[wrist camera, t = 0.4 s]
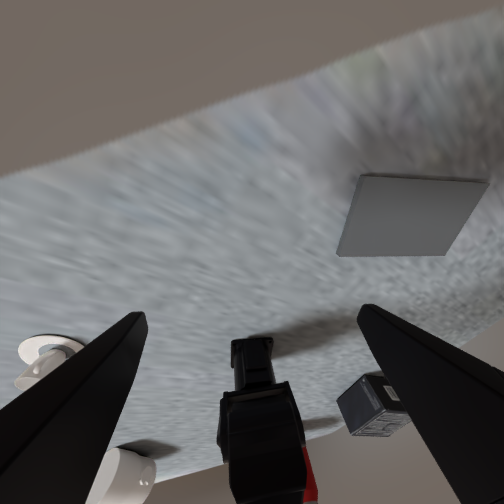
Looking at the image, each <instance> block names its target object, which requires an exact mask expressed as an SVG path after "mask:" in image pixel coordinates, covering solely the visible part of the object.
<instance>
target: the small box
mask: <svg viewBox="0 0 504 504" xmlns="http://www.w3.org/2000/svg"><path fill="white" fill-rule="evenodd" d="M336 401H337V404H338V406H339V408H340V411H341V413H342V416H343V418H344V420H345V423H346V425H347V427H348V429H349V432H350V434H351V435H352V436H353V435H354V436H380V437H388V436H390V435H391V434H392V433H394V432H395V431H396V430H398V429H399V428H401V427H403V426H404V425H406V424H408V423H409V422H411V421H412V420H411V419H410V417H409V415H408V413H407V412H406V410H405V408H404V407H403V405H402V403H401V402H400V400H399V398H398V397H397V395H396V393H395V392H394V390H393V388H392V387H391V385H390V383H389V382H388V380H387V378H380V377H373V376H367V375H364V376H363V377H362V378H361V379H360V380H359V381H357V382H356V383H355V384H354V385H353V386H352V387H351V388H350V389H349V390H348V391H347V392H345V393H344V394H343V395H342V396H341V397H340V398H339V399H338V400H336Z"/></svg>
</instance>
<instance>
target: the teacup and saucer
mask: <svg viewBox="0 0 504 504" xmlns="http://www.w3.org/2000/svg"><path fill="white" fill-rule="evenodd" d="M46 344H61V345H65V346H67V347H70V348H71V349H73V350H74V351H75V352H76V353H77V352H78V351H79V350H81V349H82V348H83V347H84V346H83V345H81V344H80V343H78V342H76V341H74V340H71V339H68V338H64V337H59V336H51V335H43V336H35V337H32V338H29V339H27V340H25V341H23V342H22V343H21V344H20V346H19V348H18V353H19V356H20V357H21V359H22V360H23V361H24V362H26V363H27V364H29V365H30V366H29V367H28V368H27V369H26V370H25V371H24V372H23V373H22V374H21V375H20V376H19V377H18V378H17V379H16V380H15V382H14V384H15V386H16V387H17V388H19V389H21V390H23V391H26V390H27V389H29V388H30V387H31V386H33V385H34V384H35V383H37V382H38V381H39V380H41V379H42V378H43V377H45V376H46V375H47V374H49V373H50V372H51V371H53V370H54V369H55V368H57V367H58V366H59V365H61V364H62V363H63V362H64V361H65V357H66V353H65V352H64V351H62V350H59V349H52V350H49V351H47V352H45V353H44V354H43V355H41V356H40V355H39V354H38V350H39V348H40V347H41V346H43V345H46Z"/></svg>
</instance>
